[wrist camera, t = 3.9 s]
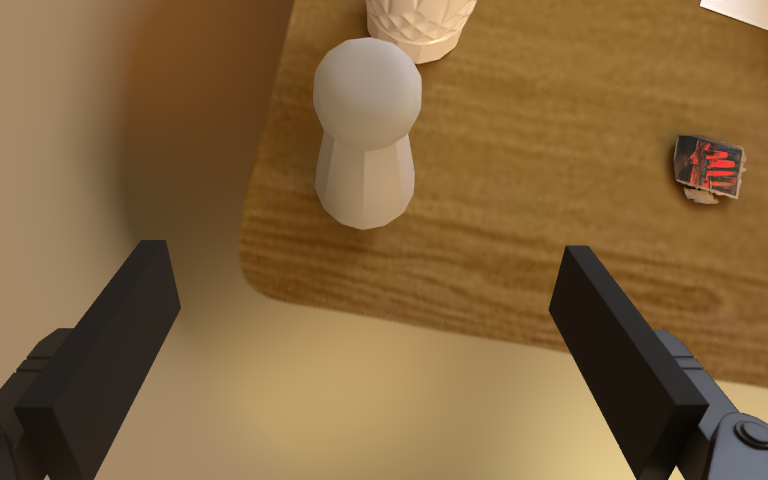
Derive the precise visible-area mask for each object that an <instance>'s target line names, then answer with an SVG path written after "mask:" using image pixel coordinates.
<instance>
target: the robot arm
mask: <svg viewBox="0 0 768 480" xmlns="http://www.w3.org/2000/svg"><path fill="white" fill-rule="evenodd" d="M180 309H181V306H180V301H179V297H178V292H177V288H176V284H175V279H174V275H173V270H172V266H171V261H170V257H169V252H168V248H167V244H166V241H165V240H141V241H140V243H139V244H138V245H137V246H136V248H135V249H134V250H133V252H132V253H131V254H130V256H129V257H128V258H127V260H126V261H125V262H124V263H123V265H122V266H121V267H120V269H119V270H118V271H117V273H116V274H115V275H114V277H113V278H112V279H111V280H110V282H109V283H108V284H107V286H106V287H105V288H104V290H103V291H102V292H101V294H100V295H99V296H98V298H97V299H96V300H95V301H94V303H93V304H92V306H91V307H90V308H89V309H88V311H87V312H86V313H85V315H84V316H83V317H82V318H81V320H80V321H79V322H78V324H77V325H76V326H75V328H58V329H57V330H55V331H54V332H52V333H51V334H50V335H48V336H47V337H45V338H44V339H42V340H41V341H40V342H39V343H38V344H37V345H36V346H35V348H34V349H33V350H32V351H31V353H30V354H29V355H28V356H27V359H26V360H24V361H23V362H22V364H21V365H20V366H19V367H18V368H17V371H16V373H13V374H12V375H11V377H10V378H9V379H8V380H7V381H6V383H5V384H4V385H3V386H2V388H1V389H0V480H44V478H45V477H46V475H48V476H49V478H50V480H94V478H95V476H96V474H97V472H98V470H99V468H100V466H101V464H102V462H103V461H104V458H105V457H106V455H107V453H108V451H109V449H110V447H111V445H112V443H113V441H114V439H115V437H116V435H117V433H118V431H119V429H120V427H121V425H122V423H123V421H124V419H125V417H126V415H127V413H128V411H129V409H130V407H131V405H132V403H133V401H134V399H135V397H136V396H137V394H138V391H139V390H140V388H141V386H142V384H143V382H144V380H145V378H146V376H147V374H148V372H149V370H150V368H151V366H152V364H153V362H154V360H155V358H156V356H157V354H158V352H159V350H160V348H161V346H162V344H163V342H164V340H165V338H166V336H167V334H168V332H169V331H170V328H171V327H172V325H173V323H174V321H175V319H176V317H177V315H178V313H179V311H180ZM549 312H550V314H551V316H552V318H553V320H554V322H555V324H556V326H557V327H558V329H559V331H560V333H561V335H562V337H563V339H564V341H565V343H566V345H567V347H568V349H569V351H570V353H571V354H572V356H573V358H574V360H575V362H576V364H577V366H578V368H579V370H580V372H581V374H582V376H583V378H584V379H585V381H586V383H587V385H588V387H589V389H590V391H591V393H592V395H593V397H594V399H595V401H596V403H597V405H598V406H599V408H600V410H601V412H602V414H603V416H604V418H605V420H606V422H607V424H608V426H609V428H610V430H611V432H612V433H613V435H614V437H615V439H616V441H617V443H618V445H619V447H620V449H621V450H622V453H623V455H624V457H625V459H626V461H627V462H628V464H629V466H630V468H631V470H632V472H633V474H634V476H635V478H636V480H668V479H669V477H670V475H671V473H672V472H673V470H674V468H675V466H677V467H678V469H679V471H680V472H681V474H682V475H683V477H684V479H685V480H768V424H767V423H766V422H764V421H762V420H760V419H758V418H757V417H754V416H751V415H748V414H745V413H740V412H739V411H738V409H736V407H735V406H734V405H733V403H732V402H731V401H730V400H729V399H728V397H727V396H726V395H725V394H724V392H723V391H722V390H721V389H720V387H719V386H718V385H717V384H716V383H715V381H714V380H713V379H712V378H711V376H710V375H709V374H708V373H707V372H706V371H704V370H703V367H702V365H701V364H700V363H699V362H698V361H697V359H694V356H693V354H692V353H691V352H690V351H689V350H688V348H687V347H686V346H685V345H684V343H683V342H682V341H680V340H679V339H678V338H676V337H675V336H673V335H672V334H671V333H669V332H668V331H667V330H665V329H652V328H651V327H650V326H649V324H648V323H647V322H646V321H645V319H644V318H643V317H642V315H641V314H640V313H639V311H638V310H637V309H636V308H635V306H634V305H633V304H632V302H631V301H630V300H629V298H628V297H627V296H626V294H625V293H624V292H623V291H622V289H621V288H620V287H619V285H618V284H617V283H616V281H615V280H614V279H613V278H612V276H611V275H610V274H609V272H608V271H607V270H606V268H605V267H604V266H603V264H602V263H601V262H600V261H599V259H598V258H597V257H596V255H595V254H594V253H593V251H592V250H591V249H590V247H589V246H566V247H565V251H564V254H563V258H562V262H561V266H560V269H559V273H558V277H557V280H556V284H555V288H554V291H553V295H552V299H551V302H550V306H549Z"/></svg>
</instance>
